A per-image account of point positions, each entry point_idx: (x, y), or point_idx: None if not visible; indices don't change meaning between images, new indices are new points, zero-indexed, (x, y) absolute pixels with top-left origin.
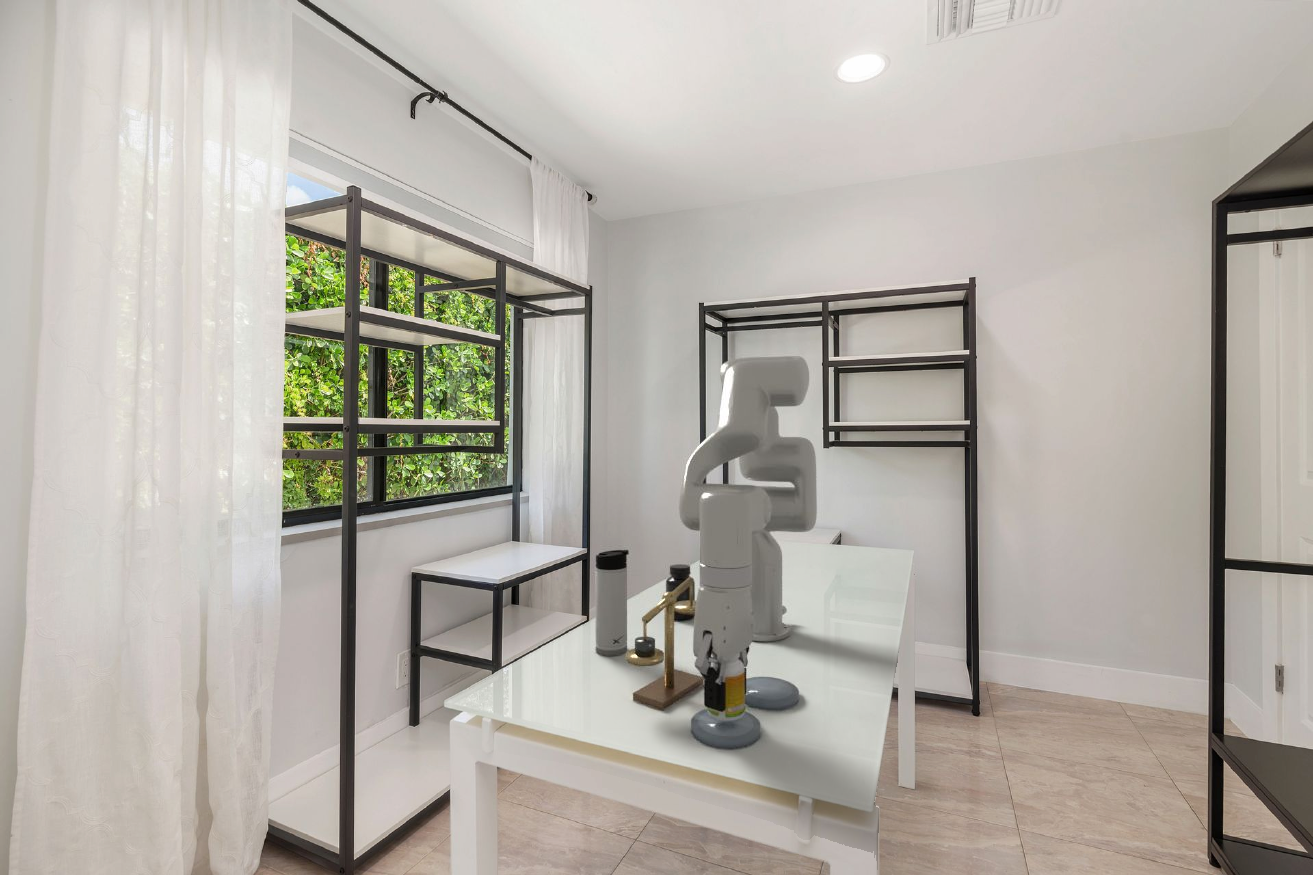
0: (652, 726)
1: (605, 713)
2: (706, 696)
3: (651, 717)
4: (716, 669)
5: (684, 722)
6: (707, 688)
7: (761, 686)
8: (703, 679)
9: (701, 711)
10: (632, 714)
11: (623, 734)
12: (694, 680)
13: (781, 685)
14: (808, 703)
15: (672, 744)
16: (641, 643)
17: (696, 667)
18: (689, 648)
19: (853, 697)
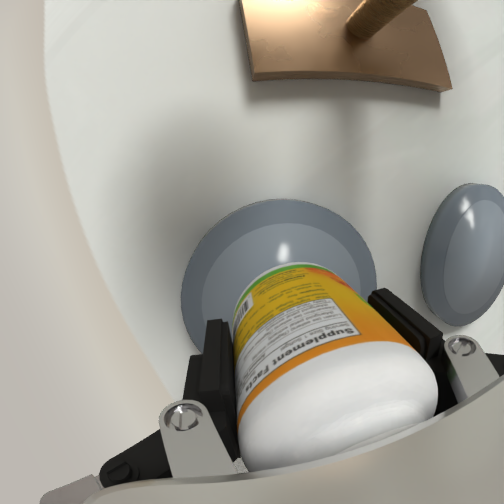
0: (153, 127)
1: (131, 7)
2: (189, 366)
3: (192, 86)
4: (247, 463)
5: (239, 177)
6: (186, 394)
7: (484, 242)
8: (170, 409)
9: (294, 206)
10: (170, 43)
11: (76, 115)
12: (426, 75)
13: (496, 270)
14: (468, 326)
15: (124, 240)
16: None
17: (54, 494)
18: (492, 16)
19: (494, 350)
